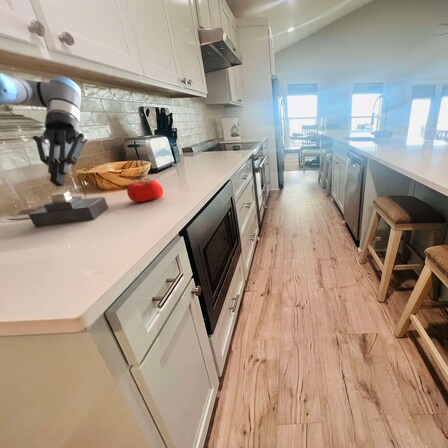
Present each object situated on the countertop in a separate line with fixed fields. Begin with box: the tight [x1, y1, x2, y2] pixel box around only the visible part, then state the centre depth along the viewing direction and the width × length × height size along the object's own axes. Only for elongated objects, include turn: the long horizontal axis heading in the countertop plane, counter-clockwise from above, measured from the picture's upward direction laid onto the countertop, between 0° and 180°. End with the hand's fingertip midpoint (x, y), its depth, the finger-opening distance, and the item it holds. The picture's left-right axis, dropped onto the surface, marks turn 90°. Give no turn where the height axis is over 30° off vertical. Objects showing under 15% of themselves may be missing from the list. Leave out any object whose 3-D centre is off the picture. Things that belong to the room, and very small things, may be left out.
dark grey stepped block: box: [28, 195, 109, 229], centre depth 72 cm, size 14×11×6 cm
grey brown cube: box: [49, 191, 73, 203], centre depth 69 cm, size 3×3×2 cm
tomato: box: [126, 179, 164, 203], centre depth 86 cm, size 10×11×6 cm
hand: (56, 183), depth 68 cm, fingers closed
